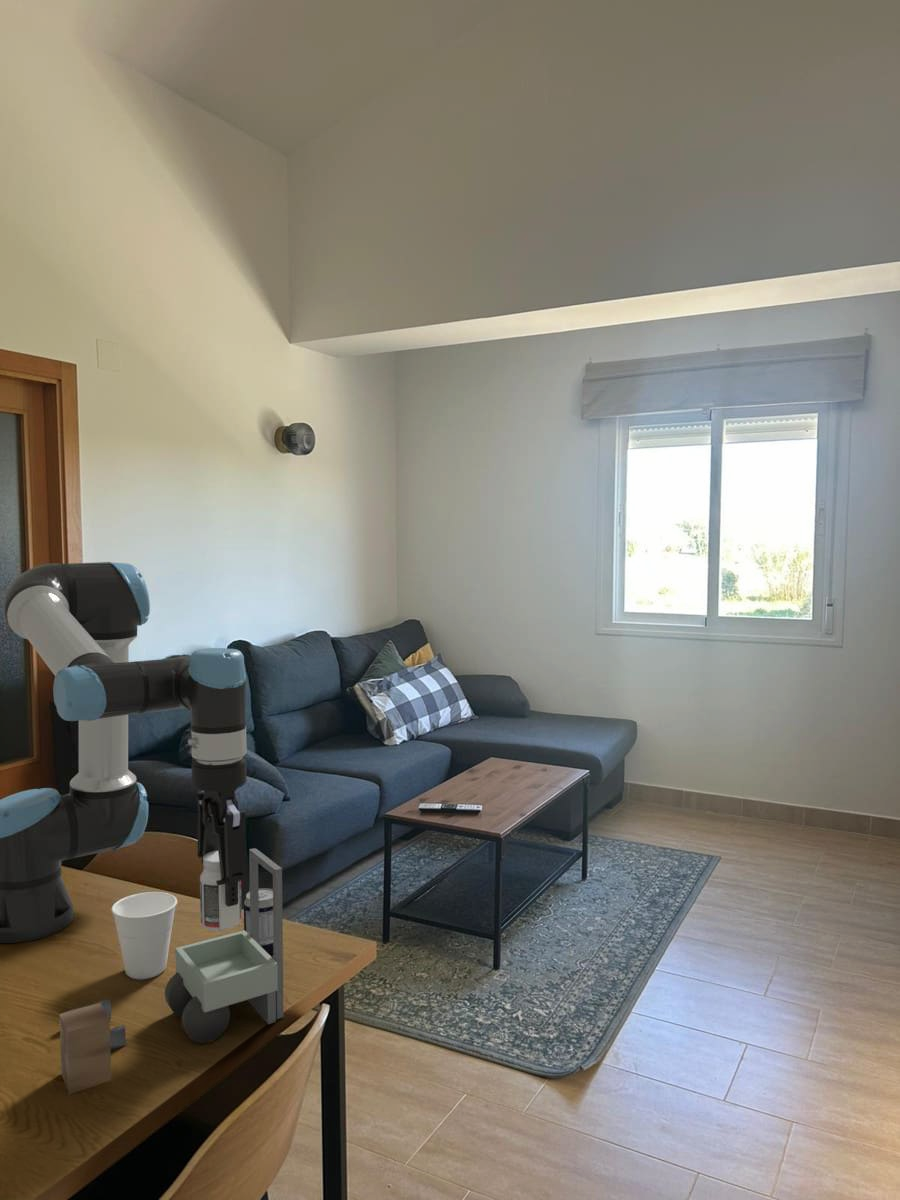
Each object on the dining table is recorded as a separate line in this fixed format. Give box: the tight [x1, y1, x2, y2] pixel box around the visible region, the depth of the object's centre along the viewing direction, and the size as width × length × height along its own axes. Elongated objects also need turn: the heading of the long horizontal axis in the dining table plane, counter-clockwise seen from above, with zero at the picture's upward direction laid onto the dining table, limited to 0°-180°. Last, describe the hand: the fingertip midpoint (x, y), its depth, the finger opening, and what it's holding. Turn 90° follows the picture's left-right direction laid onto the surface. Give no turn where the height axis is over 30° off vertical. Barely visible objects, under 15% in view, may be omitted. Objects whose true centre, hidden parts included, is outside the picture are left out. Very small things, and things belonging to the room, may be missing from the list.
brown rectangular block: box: [59, 1003, 112, 1095], centre depth 112 cm, size 5×5×8 cm
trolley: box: [164, 847, 285, 1044], centre depth 126 cm, size 13×14×22 cm
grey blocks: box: [64, 998, 127, 1051], centre depth 121 cm, size 9×6×2 cm, turn 34°
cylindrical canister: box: [243, 887, 274, 959], centre depth 141 cm, size 6×6×12 cm
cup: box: [111, 891, 178, 980], centre depth 140 cm, size 10×10×11 cm
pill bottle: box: [199, 851, 243, 932], centre depth 125 cm, size 6×6×10 cm
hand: (221, 917), depth 126 cm, fingers closed on pill bottle, 6 cm apart
